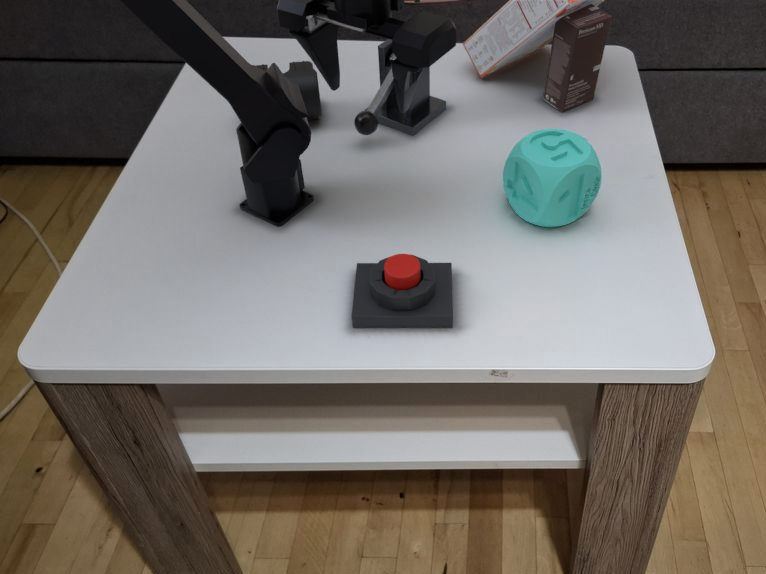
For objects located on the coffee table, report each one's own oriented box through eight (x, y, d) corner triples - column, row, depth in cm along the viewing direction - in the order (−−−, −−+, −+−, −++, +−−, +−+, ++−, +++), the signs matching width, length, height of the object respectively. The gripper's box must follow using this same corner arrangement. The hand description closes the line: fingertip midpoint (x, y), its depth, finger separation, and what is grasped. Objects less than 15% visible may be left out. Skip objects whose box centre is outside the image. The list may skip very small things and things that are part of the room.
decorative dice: (542, 237, 84) (550, 177, 78) (499, 201, 89) (504, 141, 83) (596, 212, 87) (608, 152, 81) (552, 178, 92) (560, 120, 86)
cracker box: (525, 11, 113) (623, -71, 95) (543, 48, 114) (644, -26, 96) (459, 41, 107) (550, -41, 89) (479, 80, 108) (573, 7, 90)
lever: (374, 142, 96) (365, 130, 94) (355, 135, 98) (346, 123, 95) (422, 58, 97) (415, 43, 95) (403, 52, 99) (396, 37, 96)
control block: (352, 328, 75) (349, 303, 73) (358, 274, 81) (355, 249, 78) (452, 328, 75) (453, 303, 72) (451, 274, 80) (451, 249, 78)
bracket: (413, 135, 99) (411, 64, 91) (364, 118, 102) (359, 48, 95) (446, 109, 103) (447, 39, 96) (399, 92, 106) (396, 24, 99)
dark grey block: (248, 136, 100) (238, 89, 95) (248, 108, 104) (239, 62, 99) (323, 129, 100) (317, 82, 95) (320, 102, 105) (315, 55, 100)
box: (563, 114, 101) (577, 27, 92) (541, 99, 104) (553, 13, 95) (596, 101, 104) (613, 14, 95) (574, 86, 106) (589, 1, 97)
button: (384, 290, 74) (383, 277, 73) (385, 266, 77) (384, 253, 76) (420, 290, 74) (420, 277, 73) (420, 266, 77) (420, 253, 75)
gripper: (487, -62, 72) (479, 89, 84) (331, -94, 79) (343, 49, 91) (425, -20, 66) (426, 137, 77) (262, -60, 73) (285, 90, 84)
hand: (369, 99), depth 83 cm, fingers open, 9 cm apart
